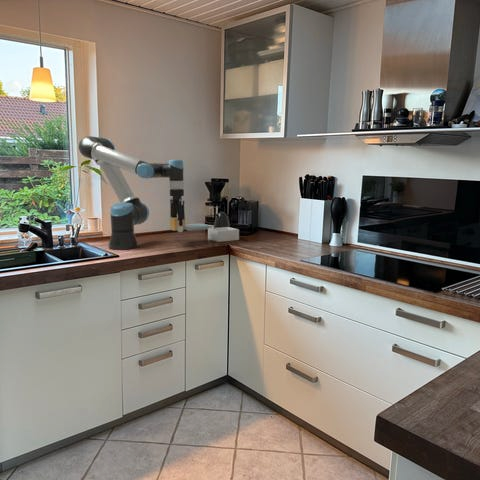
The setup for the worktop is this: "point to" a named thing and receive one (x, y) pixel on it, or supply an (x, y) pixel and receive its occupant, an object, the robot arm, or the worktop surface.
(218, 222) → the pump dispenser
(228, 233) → the tub
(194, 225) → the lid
